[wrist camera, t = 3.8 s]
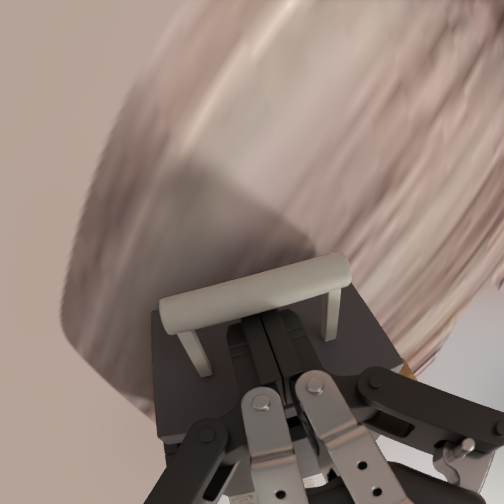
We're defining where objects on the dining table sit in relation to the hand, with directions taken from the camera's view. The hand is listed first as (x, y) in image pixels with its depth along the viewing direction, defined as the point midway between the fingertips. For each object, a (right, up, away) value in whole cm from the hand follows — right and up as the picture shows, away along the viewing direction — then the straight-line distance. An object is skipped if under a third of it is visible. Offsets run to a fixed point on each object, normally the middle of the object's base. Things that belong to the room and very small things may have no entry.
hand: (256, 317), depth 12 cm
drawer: (0, -3, +8) cm, 8 cm away
